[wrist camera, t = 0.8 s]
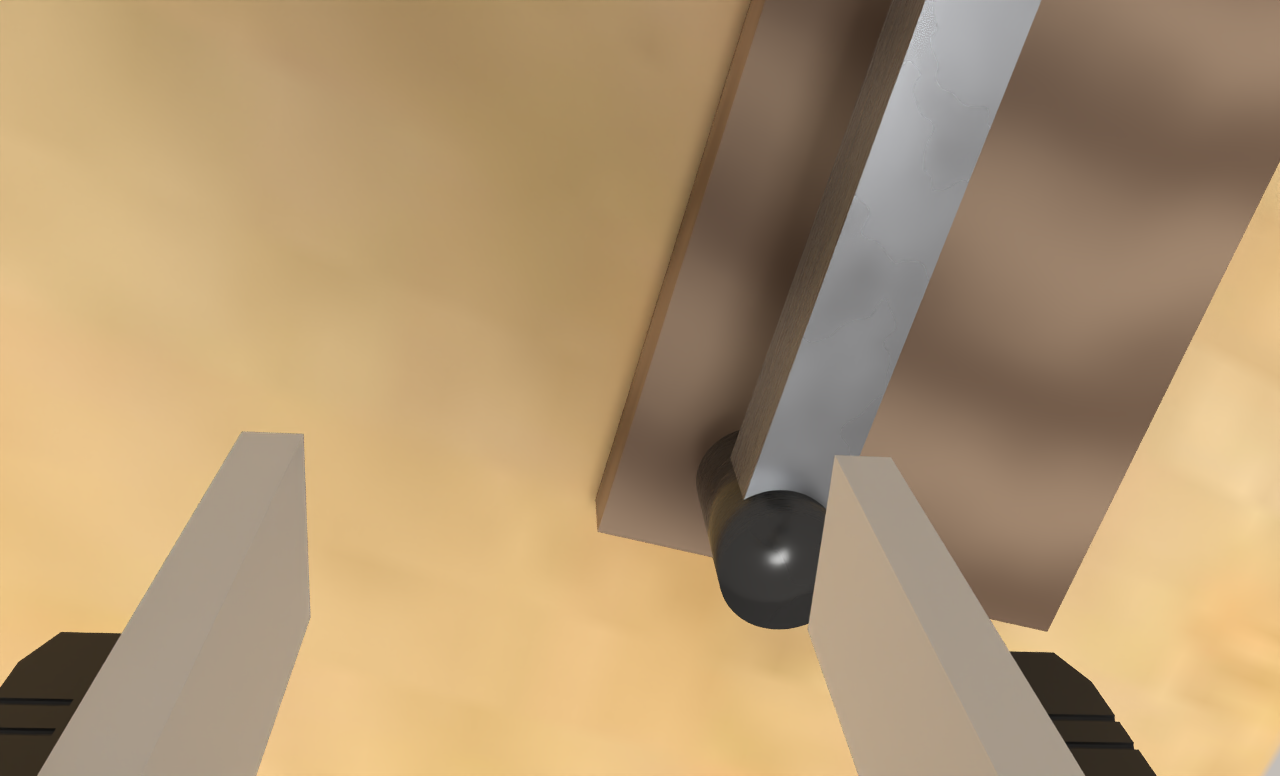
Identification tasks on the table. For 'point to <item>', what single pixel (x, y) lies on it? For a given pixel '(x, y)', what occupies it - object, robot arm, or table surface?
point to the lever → (855, 294)
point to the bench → (973, 272)
